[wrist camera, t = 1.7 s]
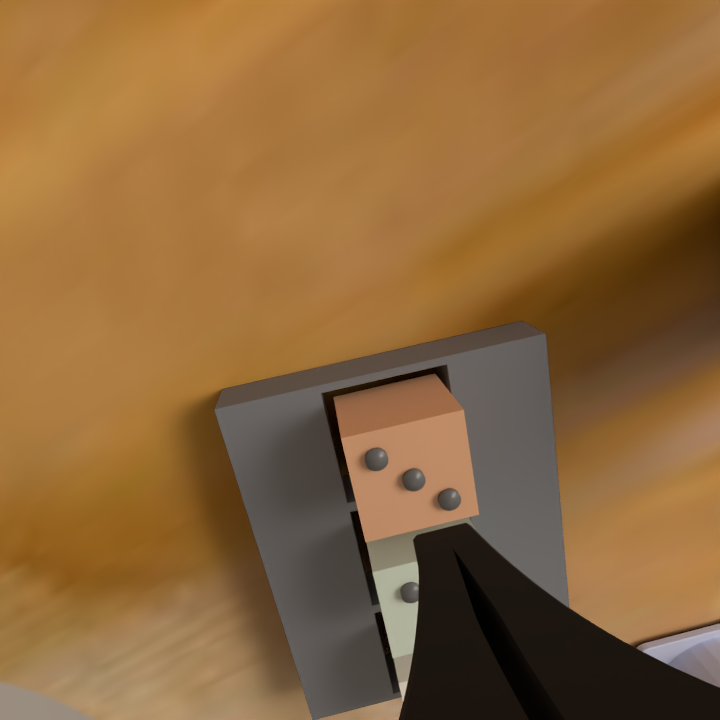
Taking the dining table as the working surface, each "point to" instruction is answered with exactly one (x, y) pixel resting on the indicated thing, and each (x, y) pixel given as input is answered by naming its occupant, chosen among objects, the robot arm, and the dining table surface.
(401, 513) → the orange dice cube
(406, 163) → the dining table surface
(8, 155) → the dining table surface
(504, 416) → the button board
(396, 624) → the pale green cube
